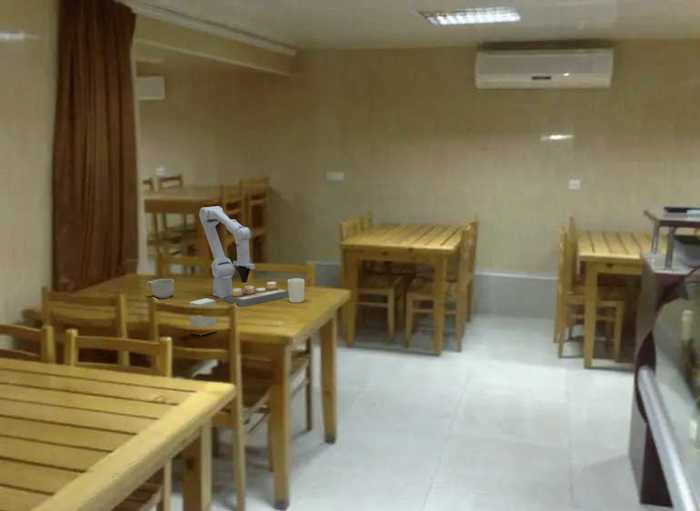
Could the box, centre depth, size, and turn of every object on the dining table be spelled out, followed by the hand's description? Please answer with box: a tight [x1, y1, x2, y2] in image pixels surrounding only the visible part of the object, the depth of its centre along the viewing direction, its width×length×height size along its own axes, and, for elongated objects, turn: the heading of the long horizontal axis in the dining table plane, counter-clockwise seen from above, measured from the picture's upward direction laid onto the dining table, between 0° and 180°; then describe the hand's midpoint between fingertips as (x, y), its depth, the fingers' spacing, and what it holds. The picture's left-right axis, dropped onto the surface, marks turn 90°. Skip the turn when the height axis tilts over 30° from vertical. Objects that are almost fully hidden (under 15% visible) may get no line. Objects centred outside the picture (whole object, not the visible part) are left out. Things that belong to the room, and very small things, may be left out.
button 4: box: [266, 281, 277, 291], centre depth 322 cm, size 4×4×4 cm
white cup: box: [287, 277, 306, 304], centre depth 309 cm, size 8×8×10 cm
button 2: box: [243, 285, 255, 295], centre depth 313 cm, size 4×4×4 cm
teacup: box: [146, 278, 175, 299], centre depth 323 cm, size 14×11×8 cm
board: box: [225, 287, 289, 308], centre depth 314 cm, size 14×26×3 cm, turn 132°
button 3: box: [255, 287, 266, 293], centre depth 318 cm, size 4×4×4 cm
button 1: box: [232, 287, 243, 298], centre depth 309 cm, size 4×4×4 cm
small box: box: [188, 298, 218, 328], centre depth 259 cm, size 8×6×13 cm
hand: (244, 282), depth 311 cm, fingers closed
